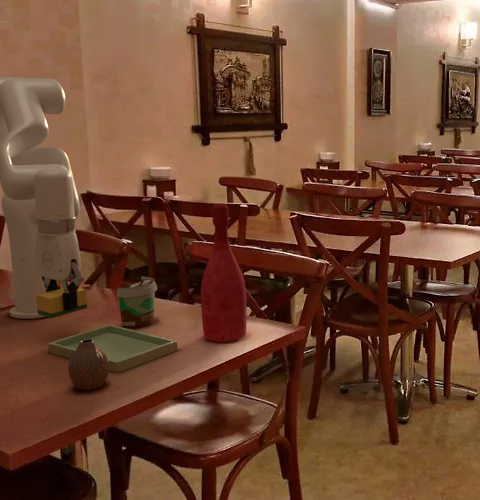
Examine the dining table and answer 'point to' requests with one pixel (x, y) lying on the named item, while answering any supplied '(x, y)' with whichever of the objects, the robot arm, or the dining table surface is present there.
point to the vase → (88, 366)
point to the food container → (137, 303)
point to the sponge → (58, 303)
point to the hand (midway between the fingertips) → (62, 306)
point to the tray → (118, 346)
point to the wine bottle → (223, 287)
